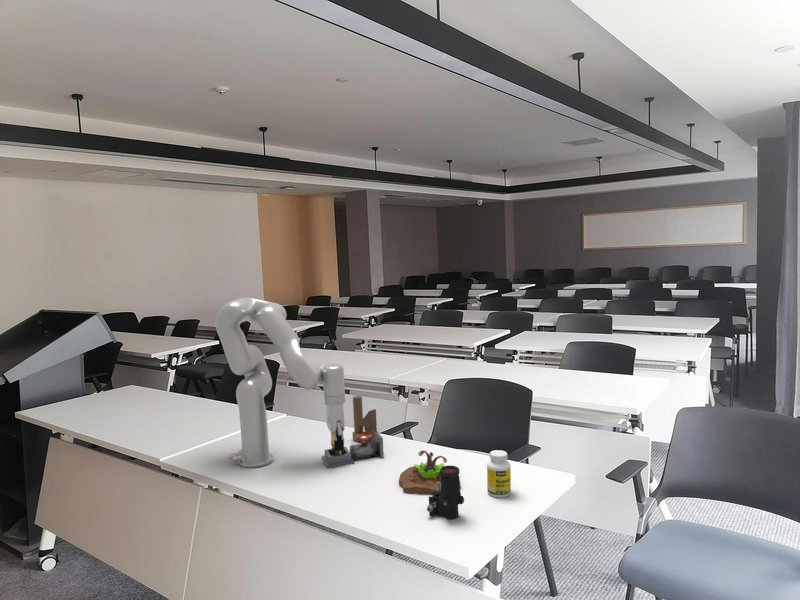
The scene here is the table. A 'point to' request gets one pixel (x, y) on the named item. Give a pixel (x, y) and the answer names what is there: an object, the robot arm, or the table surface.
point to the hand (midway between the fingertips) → (337, 447)
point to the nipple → (334, 446)
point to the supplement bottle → (498, 474)
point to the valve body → (355, 451)
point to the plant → (422, 476)
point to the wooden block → (363, 420)
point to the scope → (446, 494)
